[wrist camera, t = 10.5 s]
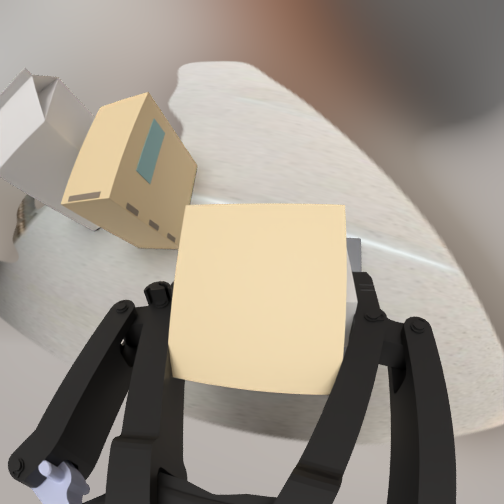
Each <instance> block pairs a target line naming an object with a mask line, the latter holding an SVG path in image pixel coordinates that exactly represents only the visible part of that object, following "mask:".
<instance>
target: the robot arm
mask: <svg viewBox="0 0 504 504" xmlns="http://www.w3.org/2000/svg"><path fill="white" fill-rule="evenodd" d="M173 288H174V282H173V283H172V284H171V285H170V284H169V283H167V282H164V281H159V282H154V283H152V284H150V285H148V286H147V287H146V288H145V290H144V293H145V296H146V299H147V302H148V304H149V305H148V306H144V307H135V305H134V303H133V302H132V301H130V300H123V301H119V302H117V303H116V304H114V305H113V306H112V308H111V309H110V310H109V312H108V313H107V315H106V316H105V317H104V319H103V320H102V322H101V323H100V325H99V326H98V327H97V329H96V330H95V332H94V333H93V335H92V336H91V338H90V339H89V341H88V342H87V344H86V345H85V347H84V348H83V350H82V351H81V353H80V354H79V356H78V358H77V359H76V361H75V362H74V364H73V365H72V367H71V369H70V370H69V372H68V374H67V375H66V377H65V379H64V380H63V382H62V384H61V385H60V387H59V388H58V390H57V392H56V394H55V395H54V397H53V399H52V401H51V402H50V404H49V406H48V408H47V409H46V412H45V413H44V415H43V417H42V419H41V421H40V423H39V424H38V426H37V428H36V430H35V431H34V432H33V433H32V434H31V435H30V436H29V437H28V438H27V439H26V440H25V441H24V442H23V443H22V444H21V445H20V446H19V448H17V449H16V450H15V452H14V453H13V454H12V455H11V456H10V458H9V461H8V469H9V472H10V474H11V476H12V477H13V478H14V479H15V480H17V481H19V482H21V483H23V484H25V485H27V486H29V487H30V488H31V489H32V490H33V491H34V492H35V494H36V495H37V496H38V498H39V499H40V501H41V502H42V503H43V504H332V503H333V501H334V499H335V497H336V495H337V493H338V491H339V488H340V485H341V483H342V477H343V474H344V471H345V469H346V466H347V464H348V461H349V459H350V456H351V454H352V451H353V449H354V446H355V443H356V440H357V437H358V435H359V432H360V429H361V426H362V423H363V420H364V416H365V413H366V410H367V406H368V403H369V400H370V396H371V392H372V389H373V385H374V381H375V377H376V373H377V368H378V364H381V365H385V366H388V375H389V388H390V409H391V458H390V459H391V460H390V476H389V488H388V498H387V504H456V459H455V445H454V434H453V426H452V418H451V411H450V405H449V399H448V394H447V388H446V383H445V379H444V374H443V369H442V365H441V361H440V357H439V353H438V349H437V346H436V342H435V338H434V335H433V332H432V328H431V326H430V324H429V323H428V322H427V321H426V320H425V319H423V318H420V317H410V318H408V319H406V321H405V323H400V322H395V321H392V320H390V319H388V318H387V316H386V314H385V313H384V311H382V310H381V309H380V307H379V303H378V299H377V295H376V292H375V288H374V286H373V281H372V278H371V277H370V276H369V275H368V273H367V272H352V271H351V266H350V261H349V257H348V252H347V290H346V320H345V338H344V347H347V349H346V352H345V355H344V358H343V361H342V364H341V367H340V369H339V372H338V375H337V377H336V380H335V383H334V385H333V388H332V390H331V393H330V395H329V398H328V400H327V402H326V405H325V407H324V410H323V412H322V414H321V416H320V419H319V421H318V423H317V425H316V428H315V430H314V432H313V434H312V436H311V438H310V440H309V442H308V444H307V447H306V449H305V450H304V453H303V455H302V456H301V458H300V460H299V462H298V464H297V465H296V467H295V468H294V470H293V472H292V473H291V475H290V477H289V478H288V480H287V482H286V484H285V485H284V487H283V489H282V490H281V492H280V494H279V495H278V497H277V498H276V497H266V496H258V495H250V494H238V495H215V494H211V493H209V492H207V491H205V490H203V489H201V488H199V487H197V486H196V485H194V484H192V483H190V482H188V481H187V473H186V469H185V466H184V463H183V410H184V384H185V380H184V379H179V378H175V377H173V375H172V368H171V361H170V353H169V345H168V338H169V327H170V316H171V306H172V297H173ZM123 339H124V342H123V343H122V344H121V342H122V340H123ZM348 342H349V343H348ZM128 390H129V391H128ZM127 392H128V397H127V402H126V408H125V414H124V420H123V427H122V432H121V435H120V436H118V437H115V438H114V439H113V441H112V444H111V448H110V456H109V464H108V474H107V484H106V493H105V494H103V495H101V496H99V497H96V498H94V499H92V500H89V501H87V502H85V503H82V496H83V495H86V494H88V493H89V490H90V488H89V485H88V484H87V483H86V481H85V480H86V479H87V478H88V477H89V475H90V474H91V472H92V471H93V469H94V467H95V465H96V463H97V461H98V459H99V456H100V454H101V451H102V449H103V446H104V444H105V442H106V439H107V437H108V435H109V432H110V430H111V427H112V425H113V423H114V421H115V418H116V416H117V414H118V412H119V409H120V407H121V405H122V403H123V401H124V398H125V396H126V394H127Z"/></svg>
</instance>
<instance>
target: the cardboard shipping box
mask: <svg viewBox="0 0 504 504" xmlns="http://www.w3.org/2000/svg"><path fill="white" fill-rule="evenodd" d="M196 170H197V164H196V163H195V161H194V160H193V158H192V157H191V155H190V154H189V152H188V151H187V149H186V148H185V146H184V145H183V143H182V142H181V140H180V139H179V137H178V136H177V134H176V133H175V132H174V130H173V128H172V127H171V125H170V124H169V122H168V121H167V119H166V118H165V116H164V115H163V113H162V112H161V110H160V109H159V107H158V106H157V104H156V103H155V101H154V100H153V98H152V97H151V95H150V94H149V92H147V93H143V94H140V95H136V96H133V97H130V98H126V99H123V100H120V101H117V102H114V103H111V104H108V105H106V106H103V107H100V109H99V111H98V113H97V115H96V117H95V119H94V121H93V123H92V125H91V127H90V129H89V131H88V133H87V136H86V138H85V140H84V142H83V145H82V147H81V149H80V152H79V154H78V157H77V159H76V162H75V164H74V167H73V169H72V172H71V175H70V177H69V180H68V183H67V186H66V189H65V192H64V195H63V198H62V201H61V205H63V206H64V207H66V208H68V209H69V210H71V211H73V212H74V213H76V214H78V215H80V216H81V217H83V218H85V219H87V220H88V221H90V222H92V223H94V224H96V225H97V226H99V227H101V228H103V229H104V230H106V231H108V232H110V233H112V234H114V235H115V236H117V237H119V238H121V239H123V240H125V241H126V242H128V243H130V244H132V245H134V246H136V247H138V248H153V249H179V244H180V237H181V231H182V225H183V219H184V213H185V207H186V205H190V201H191V196H192V190H193V185H194V180H195V175H196Z"/></svg>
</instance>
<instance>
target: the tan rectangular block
mask: <svg viewBox="0 0 504 504" xmlns="http://www.w3.org/2000/svg"><path fill="white" fill-rule="evenodd" d="M346 290H347V248H346V218H345V205H331V204H209V205H186V207H185V213H184V219H183V225H182V231H181V237H180V244H179V250H178V257H177V264H176V272H175V280H174V288H173V297H172V306H171V316H170V327H169V338H168V345H169V353H170V361H171V368H172V375H173V377H175V378H179V379H184V380H189V381H194V382H200V383H205V384H211V385H217V386H224V387H231V388H238V389H246V390H255V391H265V392H276V393H290V394H312V395H330V393H331V390H332V388H333V385H334V383H335V380H336V377H337V375H338V372H339V369H340V367H341V364H342V361H343V352H344V338H345V320H346Z"/></svg>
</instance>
